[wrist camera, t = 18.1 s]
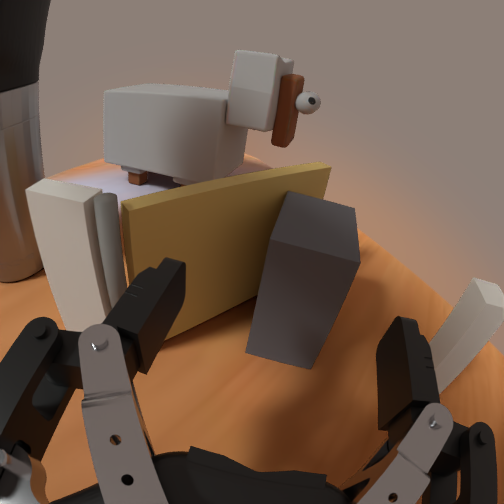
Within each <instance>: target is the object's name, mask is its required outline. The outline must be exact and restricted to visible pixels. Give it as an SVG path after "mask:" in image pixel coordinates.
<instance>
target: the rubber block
mask: <svg viewBox="0 0 504 504" xmlns="http://www.w3.org/2000/svg"><path fill="white" fill-rule="evenodd" d="M359 265H360V252H359V241H358V232H357V223H356V215H355V208H352V207H348V206H344V205H341V204H337V203H334V202H330V201H326V200H323V199H319V198H315V197H311V196H307V195H303V194H299V193H295V192H291V191H288V192H287V195H286V198H285V200H284V203H283V206H282V208H281V211H280V214H279V216H278V219H277V221H276V224H275V227H274V229H273V232H272V234H271V237H270V240H269V245H268V250H267V255H266V259H265V264H264V269H263V274H262V278H261V283H260V288H259V292H258V297H257V302H256V306H255V311H254V315H253V320H252V325H251V329H250V334H249V338H248V343H247V347H246V352H245V353H248V354H252V355H255V356H259V357H262V358H266V359H270V360H274V361H278V362H281V363H285V364H289V365H293V366H298V367H302V368H306V369H310V370H311V368H312V366H313V364H314V362H315V360H316V358H317V356H318V354H319V352H320V350H321V348H322V346H323V344H324V342H325V340H326V338H327V336H328V334H329V332H330V330H331V328H332V326H333V324H334V322H335V319H336V317H337V315H338V313H339V311H340V309H341V307H342V304H343V302H344V300H345V298H346V296H347V293H348V291H349V289H350V286H351V284H352V282H353V280H354V277H355V275H356V272H357V270H358V268H359Z"/></svg>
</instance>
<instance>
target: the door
mask: <svg viewBox="0 0 504 504" xmlns="http://www.w3.org/2000/svg"><path fill="white" fill-rule="evenodd" d="M330 171H331V166H328V165H326V164H324V163H322V162H315V163H308V164H301V165H295V166H288V167H281V168H275V169H269V170H263V171H257V172H252V173H246V174H241V175H235V176H230V177H225V178H220V179H215V180H210V181H205V182H200V183H196V184H191V185H187V186H182V187H178V188H173V189H169V190H165V191H160V192H156V193H152V194H148V195H144V196H140V197H136V198H132V199H128V200H124V201H121V214H122V226H123V237H124V246H125V255H126V264H127V271H128V279H129V285H131V283H132V281H133V280H134V279H135V277H136V276H137V275H138V274H139V273H140V272H142V271H144V270H145V269H147V268H148V267H152V268H155V269H157V267H158V266H159V265H160V263H161V262H162V260H163V259H164V258H165V257H168V258H171V259H175V260H179V261H182V262H185V263H186V294H185V299H184V303H183V306H182V308H181V310H180V312H179V314H178V315H177V317H176V319H175V321H174V323H173V325H172V327H171V329H170V331H169V332H168V334H167V336H166V338H165V340H167V339H169V338H171V337H173V336H175V335H178V334H180V333H182V332H184V331H186V330H188V329H190V328H192V327H194V326H196V325H198V324H200V323H202V322H204V321H206V320H208V319H210V318H212V317H214V316H216V315H218V314H220V313H222V312H224V311H226V310H228V309H230V308H232V307H234V306H236V305H238V304H240V303H242V302H244V301H246V300H248V299H250V298H252V297H254V296H256V295H258V292H259V288H260V283H261V278H262V274H263V269H264V264H265V259H266V255H267V250H268V245H269V240H270V237H271V234H272V232H273V229H274V227H275V224H276V221H277V219H278V216H279V214H280V211H281V208H282V206H283V203H284V200H285V198H286V195H287V192H288V191H291V192H295V193H299V194H303V195H307V196H311V197H315V198H319V199H323V197H324V194H325V190H326V186H327V182H328V179H329V175H330ZM165 340H164V341H165Z"/></svg>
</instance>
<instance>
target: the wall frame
mask: <svg viewBox="0 0 504 504" xmlns="http://www.w3.org/2000/svg"><path fill="white" fill-rule="evenodd" d="M25 191H26V196H27V202H28V207H29V211H30V216H31V220H32V225H33V229H34V233H35V237H36V241H37V245H38V248H39V252H40V256H41V259H42V262H43V266H44V269H45V272H46V275H47V279H48V282H49V285H50V288H51V291H52V293H53V296H54V299H55V302H56V305H57V307H58V310H59V313H60V315H61V318H62V320H63V323H64V325H65V328H66V330H67V331H76V332H83V331H84V330H85V329H86V328H88V327H90V326H92V325H95V324H101V323H102V322H103V321H104V320H105V318H106V317H107V315H108V314H109V313H110V311H111V310H112V308H113V307H114V306H115V304H116V303H117V302H118V300H119V299H120V297H121V296H122V295H123V293H125V291H126V289H127V283H126V276H125V269H124V262H123V254H122V245H121V236H120V226H119V215H118V202H117V195H116V194H113V193H103V194H102V189H98V188H93V187H88V186H83V185H77V184H72V183H66V182H61V181H55V180H50V179H42V180H40V181H39V182H37V183H35V184H34V185H32V186H30V187H29V188H27V189H26V190H25ZM503 321H504V295H503V293H502V291H501V289H500V287H499V286H498V285H497V284H494V283H490V282H487V281H484V280H480V279H477V278H473V279H472V281H471V282H470V284H469V285H468V287H467V289H466V290H465V292H464V293H463V295H462V297H461V298H460V300H459V301H458V303H457V304H456V306H455V307H454V309H453V310H452V312H451V313H450V315H449V316H448V318H447V319H446V321H445V322H444V324H443V325H442V326H441V328H440V329H439V331H438V332H437V333H436V335H435V336H434V337H433V339H432V340H431V341H430V343H429V345H430V348H431V353H432V360H433V363H434V370H435V373H436V379H437V385H438V391H439V394H440V393H441V392H442V391H443V390H444V389H445V388H446V387H447V386H448V385H449V384H450V383H451V382H452V381H453V380H454V379H455V378H456V377H457V376H458V375H459V374H460V373H461V372H462V371H463V369H464V368H465V367H466V366H467V365H468V364H469V363H470V362H471V361H472V359H473V358H474V357H475V356H476V355H477V354H478V353H479V351H480V350H481V349H482V348H483V347H484V345H485V344H486V343H487V342H488V340H489V339H490V338H491V337H492V335H493V334H494V333H495V332H496V330H497V329H498V328H499V326H500V325H501V324H502V322H503Z"/></svg>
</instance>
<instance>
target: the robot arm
mask: <svg viewBox="0 0 504 504" xmlns="http://www.w3.org/2000/svg"><path fill="white" fill-rule="evenodd" d="M50 1H51V0H0V281H1V282H13V281H17V280H21V279H24V278H26V277H29V276H31V275H33V274H35V273H36V272H38V271H39V270H41V269H42V268H43V267H44V266H43V262H42V259H41V256H40V252H39V248H38V245H37V241H36V237H35V233H34V229H33V225H32V220H31V216H30V211H29V207H28V202H27V196H26V191H25V190H26V189H27V188H29V187H30V186H32V185H34V184H35V183H37V182H39V181H40V180H42V179H45V175H44V168H43V159H42V149H41V137H40V121H39V86H38V85H39V82H37V81H38V80H39V64H40V59H41V55H42V50H43V45H44V37H45V28H46V21H47V16H48V10H49V6H50ZM185 294H186V263H185V262H182V261H179V260H175V259H171V258H168V257H165V258H164V259H163V260H162V262H161V263H160V265H159V266H158V267H157V269H155V268H152V267H148V268H147V269H145V270H144V271H142V272H140V273H139V274H138V275H137V276H136V277H135V279H134V280H133V281H132V283H131V285H129V287H128V288H127V289H126V291H125V293H123V295H122V296H121V297H120V299H119V300H118V302H117V303H116V304H115V306H114V307H113V308H112V310H111V311H110V313H109V314H108V315H107V317H106V318H105V320H104V321H103V322H102V323H101V324H95V325H92V326H90V327H88V328H86V329H85V330H84V331H83V332H76V331H67V330H59V329H58V327H57V324H56V323H55V321H53V320H52V319H50V318H47V317H39V318H36V319H33V320H32V321H30V322H29V323H28V324H27V325H26V326H25V328H24V329H23V331H22V332H21V333H20V335H19V336H18V338H17V339H16V340H15V342H14V343H13V345H12V346H11V348H10V349H9V351H8V352H7V354H6V355H5V357H4V358H3V360H2V361H1V363H0V504H415V503H416V502H417V501H418V499H419V498H420V496H421V495H422V493H423V495H422V504H497V464H496V450H495V439H494V434H493V432H492V430H491V428H490V427H489V426H488V425H487V424H485V423H483V422H477V423H475V424H474V425H472V426H471V427H470V428H468V427H466V426H463V425H461V424H458V423H456V422H454V421H453V418H452V415H451V413H450V411H449V410H448V409H447V408H446V407H445V406H443V405H442V404H440V398H439V391H438V385H437V379H436V373H435V370H434V363H433V360H432V353H431V348H430V345H429V344H428V342H427V340H426V338H425V337H424V335H420V333H419V328H418V324H417V321H416V320H414V319H409V318H405V317H400V316H398V317H396V318H395V319H394V321H393V322H392V324H391V325H390V327H389V328H388V330H387V332H386V333H385V335H384V336H383V337H382V339H381V340H380V342H379V344H378V347H377V351H376V364H377V387H378V430H384V431H388V437H387V438H386V439H385V440H384V441H383V442H382V444H381V445H380V446H379V447H378V449H377V450H376V451H375V452H374V453H373V455H372V456H371V457H370V458H369V459H368V460H367V461H366V463H365V464H364V465H363V466H362V467H361V468H360V469H359V470H358V471H357V472H356V473H355V474H354V475H353V476H352V477H351V478H349V479H348V480H347V481H346V482H344V483H343V484H342V485H341V486H340V487H339V488H337V487H336V486H334V485H332V484H330V483H328V482H326V476H327V475H325V474H317V473H309V472H302V471H295V470H294V471H279V472H257V471H254V470H252V469H250V468H248V467H246V466H244V465H242V464H240V463H238V462H236V461H234V460H232V459H230V458H228V457H226V456H224V455H220V454H216V453H213V452H209V451H206V450H203V449H199V448H196V447H193V446H190V449H189V452H183V451H178V452H167V453H162V454H158V455H156V454H155V451H154V448H153V445H152V443H151V440H150V437H149V434H148V431H147V428H146V425H145V422H144V419H143V416H142V412H141V409H140V405H139V402H138V398H137V395H136V391H135V387H134V383H133V379H134V377H135V375H136V373H137V371H139V372H141V373H144V374H146V375H147V373H148V371H149V369H150V367H151V365H152V363H153V361H154V359H155V357H156V355H157V353H158V352H159V350H160V348H161V346H162V344H163V342H164V340H165V338H166V336H167V334H168V332H169V331H170V329H171V327H172V325H173V323H174V321H175V319H176V317H177V315H178V314H179V312H180V310H181V308H182V306H183V303H184V299H185ZM76 388H77V389H84V399H83V400H82V413H83V419H84V424H85V429H86V434H87V439H88V444H89V448H90V452H91V457H92V461H93V465H94V468H95V472H96V476H97V479H98V483H97V484H94V485H92V486H90V487H88V488H85V489H83V490H81V491H78V492H76V493H73V494H71V495H68V496H66V497H63V498H61V499H58V500H55V501H53V502H50V503H49V501H48V499H47V497H46V494H45V485H46V479H47V476H46V471H45V469H44V467H43V465H42V463H41V460H42V458H43V456H44V453H45V451H46V449H47V447H48V444H49V442H50V440H51V438H52V436H53V434H54V431H55V429H56V427H57V425H58V423H59V421H60V419H61V417H62V415H63V413H64V411H65V409H66V407H67V405H68V403H69V401H70V399H71V397H72V395H73V393H74V391H75V389H76ZM459 470H461V485H460V495H459V498H458V499H457V501H456V497H457V471H459Z"/></svg>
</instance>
